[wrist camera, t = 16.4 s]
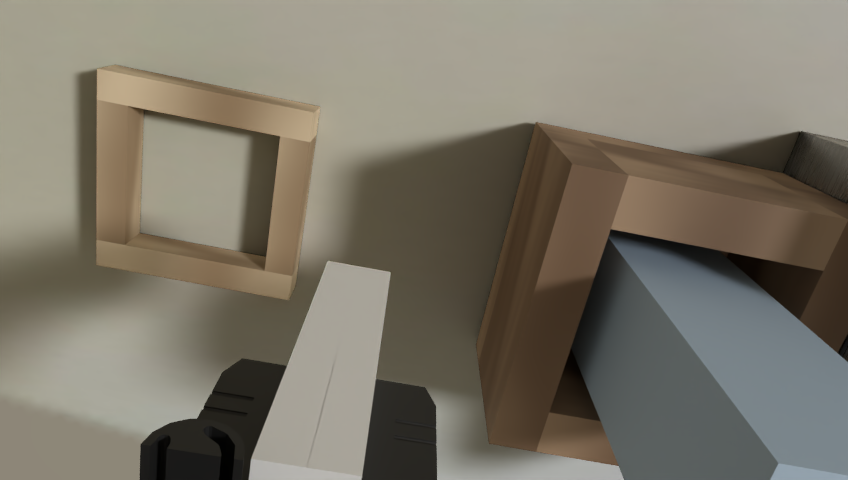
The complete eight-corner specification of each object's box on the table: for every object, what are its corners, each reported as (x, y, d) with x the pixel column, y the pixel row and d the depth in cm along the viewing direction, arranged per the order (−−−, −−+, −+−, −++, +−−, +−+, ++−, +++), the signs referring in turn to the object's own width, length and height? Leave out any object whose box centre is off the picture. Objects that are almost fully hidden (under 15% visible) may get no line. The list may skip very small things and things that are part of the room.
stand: (112, 252, 23) (96, 264, 22) (115, 64, 21) (96, 68, 19) (295, 286, 23) (288, 300, 22) (320, 106, 21) (314, 112, 20)
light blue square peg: (558, 316, 22) (688, 636, 11) (591, 214, 21) (779, 463, 10) (662, 336, 22) (894, 668, 11) (702, 236, 21) (1013, 505, 10)
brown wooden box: (476, 344, 24) (488, 443, 19) (535, 122, 21) (572, 163, 15) (691, 384, 25) (765, 491, 19) (783, 173, 21) (901, 230, 16)
